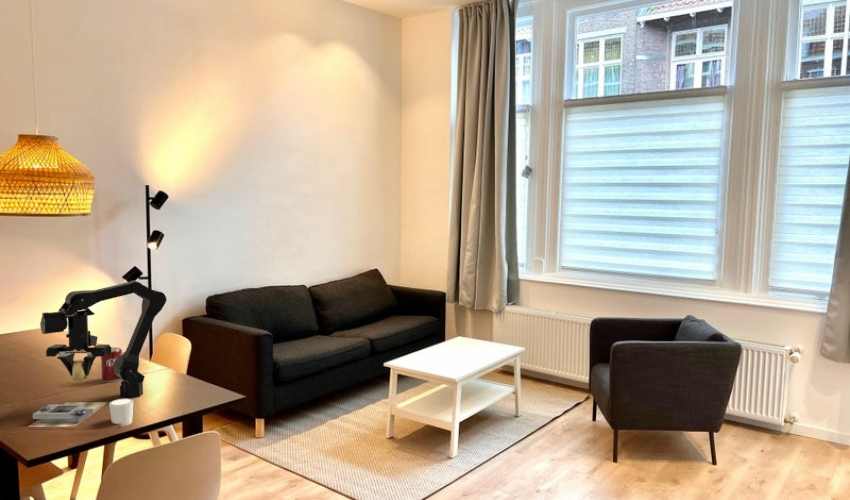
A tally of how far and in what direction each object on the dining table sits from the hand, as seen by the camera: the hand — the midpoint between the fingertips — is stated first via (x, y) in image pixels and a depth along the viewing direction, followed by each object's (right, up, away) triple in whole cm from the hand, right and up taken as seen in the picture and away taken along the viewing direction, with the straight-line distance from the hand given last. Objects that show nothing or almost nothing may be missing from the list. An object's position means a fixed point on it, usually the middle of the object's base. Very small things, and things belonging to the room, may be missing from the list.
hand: (80, 375), depth 204 cm
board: (0, -12, -6) cm, 13 cm away
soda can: (-6, -9, +34) cm, 35 cm away
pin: (0, -1, 0) cm, 1 cm away
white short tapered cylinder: (+20, -13, -11) cm, 26 cm away
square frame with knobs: (0, -12, -10) cm, 16 cm away
